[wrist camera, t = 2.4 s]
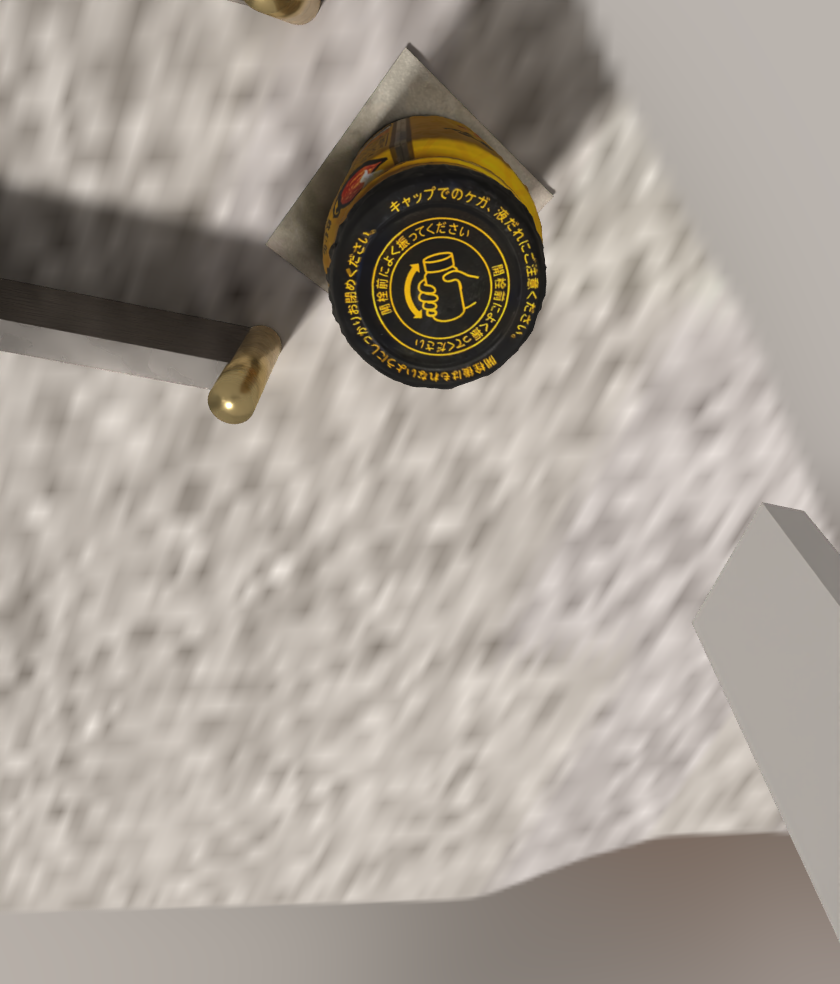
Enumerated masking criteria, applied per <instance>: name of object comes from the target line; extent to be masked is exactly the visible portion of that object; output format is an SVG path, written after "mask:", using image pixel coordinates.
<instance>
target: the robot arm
mask: <svg viewBox="0 0 840 984" xmlns="http://www.w3.org/2000/svg"><path fill="white" fill-rule="evenodd" d="M692 625H693V627H694V629H695V631H696V633H697V635H698V638H699V640H700V642H701V644H702V646H703V648H704V650H705V653H706V655H707V657H708V659H709V661H710V663H711V666H712V668H713V670H714V672H715V674H716V676H717V679H718V681H719V683H720V685H721V687H722V689H723V692H724V694H725V696H726V698H727V700H728V702H729V704H730V707H731V709H732V711H733V713H734V715H735V717H736V720H737V722H738V724H739V726H740V728H741V730H742V733H743V735H744V737H745V739H746V741H747V743H748V745H749V748H750V750H751V752H752V754H753V756H754V758H755V761H756V763H757V765H758V767H759V769H760V771H761V774H762V776H763V778H764V780H765V782H766V784H767V786H768V789H769V791H770V793H771V795H772V797H773V799H774V802H775V804H776V806H777V808H778V810H779V812H780V815H781V817H782V819H783V821H784V823H785V825H786V828H787V830H788V832H789V834H790V836H791V838H792V840H793V843H794V845H795V847H796V849H797V851H798V853H799V855H800V858H801V859H802V862H803V864H804V866H805V869H806V870H807V873H808V875H809V877H810V879H811V881H812V884H813V886H814V888H815V890H816V892H817V894H818V897H819V899H820V901H821V903H822V905H823V907H824V909H825V912H826V914H827V916H828V918H829V920H830V923H831V925H832V927H833V929H834V931H835V933H836V935H837V938H838V940H839V942H840V554H839V553H838V552H837V550H836V549H835V548H834V547H833V545H832V544H831V543H830V542H829V541H828V539H827V538H826V537H825V536H824V535H823V533H822V532H821V531H820V530H819V529H818V527H817V526H816V525H815V524H814V523H813V521H812V520H811V519H810V518H809V516H808V515H807V514H806V513H805V512H804V511H801V510H797V509H792V508H787V507H782V506H777V505H773V504H768V503H763V502H762V503H761V505H760V506H759V508H758V510H757V511H756V513H755V515H754V517H753V518H752V520H751V522H750V523H749V525H748V527H747V529H746V530H745V532H744V534H743V535H742V537H741V539H740V541H739V542H738V544H737V546H736V547H735V549H734V551H733V553H732V554H731V556H730V558H729V559H728V561H727V563H726V565H725V566H724V568H723V570H722V571H721V573H720V575H719V577H718V578H717V580H716V582H715V583H714V585H713V587H712V589H711V590H710V592H709V594H708V596H707V597H706V599H705V601H704V602H703V604H702V606H701V608H700V609H699V611H698V613H697V614H696V616H695V618H694V620H693V621H692Z"/></svg>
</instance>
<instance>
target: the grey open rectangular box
mask: <svg viewBox="0 0 840 984" xmlns="http://www.w3.org/2000/svg"><path fill="white" fill-rule="evenodd" d="M228 1H232V2H236V3H240V4H244V5H248V6H250V7H251V8H253V9H254V10H256V11H258V12H261V13H264V14H266V15H269V16H272V17H275V18H277V19H280V20H283V21H286V22H288V23H291V24H295V25H303V24H306V23H308V22H310V21H311V20H312V19H313V18H314V17H315V16H316V14H317V13H318V10H319V8H320V3H321V0H228ZM0 351H5V352H11V353H16V354H21V355H27V356H32V357H38V358H43V359H48V360H54V361H59V362H64V363H70V364H75V365H81V366H86V367H91V368H97V369H102V370H107V371H113V372H118V373H124V374H129V375H134V376H140V377H145V378H151V379H156V380H161V381H167V382H172V383H177V384H183V385H188V386H194V387H199V388H204V389H210V390H211V391H210V393H209V395H208V405H209V408H210V410H211V412H212V413H213V414H214V415H215V416H216V417H217V418H218V419H220V420H221V421H223V422H226V423H229V424H239V423H243V422H245V421H247V420H248V419H249V418H250V417H251V416H252V414H253V412H254V410H255V408H256V405H257V403H258V401H259V399H260V396H261V394H262V392H263V390H264V387H265V385H266V383H267V381H268V378H269V376H270V374H271V372H272V369H273V367H274V365H275V363H276V360H277V358H278V356H279V354H280V351H281V340H280V338H279V336H278V334H277V333H276V332H275V331H274V330H273V329H271V328H269V327H267V326H262V325H258V326H254V327H251V328H249V327H244V326H239V325H234V324H229V323H224V322H219V321H214V320H209V319H204V318H199V317H194V316H189V315H184V314H179V313H173V312H168V311H163V310H158V309H153V308H148V307H143V306H138V305H133V304H128V303H123V302H118V301H113V300H108V299H103V298H98V297H93V296H88V295H83V294H78V293H72V292H67V291H62V290H57V289H52V288H47V287H42V286H37V285H32V284H27V283H22V282H17V281H12V280H7V279H2V278H0Z"/></svg>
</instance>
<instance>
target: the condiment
mask: <svg viewBox="0 0 840 984" xmlns="http://www.w3.org/2000/svg"><path fill="white" fill-rule="evenodd" d="M553 197H554V196H553V195H552V194H551V193H550V192H549V191H548V190H547V189H546V188H545V187H544V186H543V185H542V184H541V183H540V182H539V181H538V180H537V179H536V178H535V177H534V176H533V175H532V174H531V173H530V172H529V171H528V170H527V169H526V168H525V167H524V166H523V165H522V164H521V163H520V162H519V161H518V160H517V159H516V158H515V157H514V156H513V155H512V154H511V153H510V152H509V151H508V150H507V149H506V148H505V147H504V146H503V145H502V144H501V143H500V142H499V141H498V140H497V139H496V138H495V137H494V136H493V135H492V134H491V133H490V132H489V131H488V130H487V129H486V128H485V127H484V126H483V125H482V124H481V123H480V122H479V121H478V120H477V119H476V118H475V117H474V116H473V115H472V114H471V113H470V112H469V111H468V110H467V109H466V108H465V107H464V106H463V105H462V104H461V103H460V102H459V101H458V100H457V99H456V98H455V97H454V96H453V95H452V94H451V93H450V92H449V91H448V90H447V88H446V87H445V86H444V85H443V84H441V83H440V82H439V81H438V79H437V78H436V77H435V76H433V74H432V73H431V72H430V71H429V70H428V69H427V68H426V67H425V66H424V65H423V64H422V63H421V62H420V61H419V60H418V59H417V58H416V57H415V56H414V55H413V54H412V53H411V52H410V51H409V50H408V49H407V48H405V49H404V50H403V52H402V53H401V55H400V56H399V58H398V59H397V60H396V62H395V63H394V65H393V66H392V67H391V69H390V70H389V72H388V73H387V74H386V76H385V77H384V79H383V80H382V81H381V83H380V84H379V86H378V87H377V89H376V90H375V91H374V93H373V94H372V96H371V97H370V98H369V100H368V101H367V103H366V104H365V106H364V107H363V108H362V110H361V111H360V112H359V114H358V115H357V117H356V118H355V120H354V121H353V122H352V124H351V125H350V126H349V128H348V129H347V131H346V132H345V134H344V135H343V136H342V138H341V139H340V141H339V142H338V143H337V145H336V146H335V148H334V149H333V150H332V152H331V153H330V154H329V156H328V157H327V159H326V160H325V162H324V163H323V164H322V166H321V167H320V169H319V170H318V171H317V173H316V175H315V176H314V177H313V179H312V180H311V181H310V183H309V184H308V186H307V187H306V188H305V190H304V191H303V193H302V194H301V195H300V197H299V198H298V200H297V201H296V202H295V204H294V205H293V207H292V208H291V210H290V211H289V212H288V214H287V215H286V217H285V218H284V220H283V221H282V222H281V224H280V225H279V226H278V228H277V229H276V231H275V232H274V233H273V235H272V236H271V238H270V239H269V240H268V242H267V243H266V246H268V247H269V248H270V249H272V250H273V251H274V252H275V253H277V254H278V255H279V256H280V257H282V258H284V259H285V260H286V261H288V262H289V263H290V264H292V265H293V266H294V267H295V268H296V269H298V270H299V271H301V272H302V273H303V274H304V275H306V276H307V277H308V278H309V279H310V280H312V281H313V282H314V283H316V284H317V285H318V286H319V287H321V288H322V289H324V290H325V291H326V292H327V293H329V300H330V302H331V303H332V314H333V315H334V317H335V320H336V321H337V322H338V323H339V325H340V328H341V333H342V334H343V335H344V336H345V337H346V339H347V342H348V343H349V344H350V346H351V347H352V348H353V349H354V350H355V351H356V352H357V353H358V354H359V355H360V356H361V357H362V358H363V360H365V361H366V362H367V363H368V364H370V365H371V366H372V367H374V368H375V369H376V370H377V371H379V372H380V373H382V374H384V375H385V376H387V377H389V378H391V379H393V380H395V381H399V382H401V383H403V384H406V385H409V386H412V387H427V388H438V389H452V388H454V387H457V386H459V385H462V384H465V383H468V382H471V381H474V380H476V379H479V378H481V377H484V376H488V375H490V374H491V373H493V372H494V371H496V370H497V369H498V368H500V367H501V366H502V365H503V364H504V363H505V362H506V361H507V360H508V359H509V358H510V357H511V356H512V355H514V354H515V353H516V352H517V351H518V350H519V348H520V347H521V345H522V344H523V343H524V342H525V341H526V340H527V338H528V337H529V335H530V334H531V332H532V331H533V328H534V325H535V321H536V318H537V315H538V313H539V311H540V310H541V308H542V302H543V299H544V297H545V293H546V268H547V267H546V265H545V257H544V252H543V248H544V247H543V239H542V226H541V222H540V219H539V216H538V212H539V211H540V210H541V209H542V208H543V207H544V206H545V205H546V204H547V203H548V202H549V201H550V200H551V199H552V198H553Z"/></svg>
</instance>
